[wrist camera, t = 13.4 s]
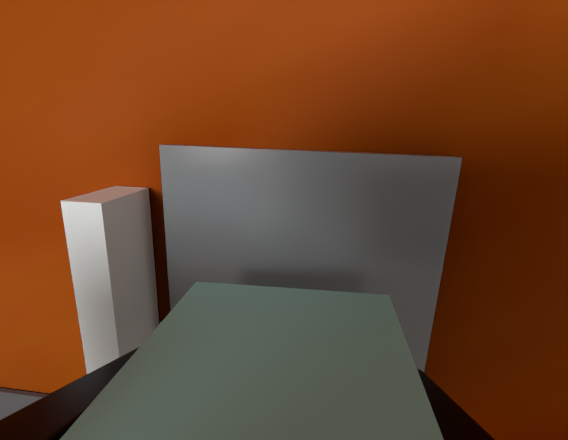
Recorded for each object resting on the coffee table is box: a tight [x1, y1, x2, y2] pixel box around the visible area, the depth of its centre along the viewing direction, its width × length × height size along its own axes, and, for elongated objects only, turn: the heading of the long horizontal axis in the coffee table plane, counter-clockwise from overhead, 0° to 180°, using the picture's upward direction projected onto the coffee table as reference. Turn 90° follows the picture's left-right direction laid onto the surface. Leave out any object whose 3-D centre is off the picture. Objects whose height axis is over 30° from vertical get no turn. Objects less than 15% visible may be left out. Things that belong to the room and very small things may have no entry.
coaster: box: [159, 144, 462, 372], centre depth 11 cm, size 9×9×1 cm
